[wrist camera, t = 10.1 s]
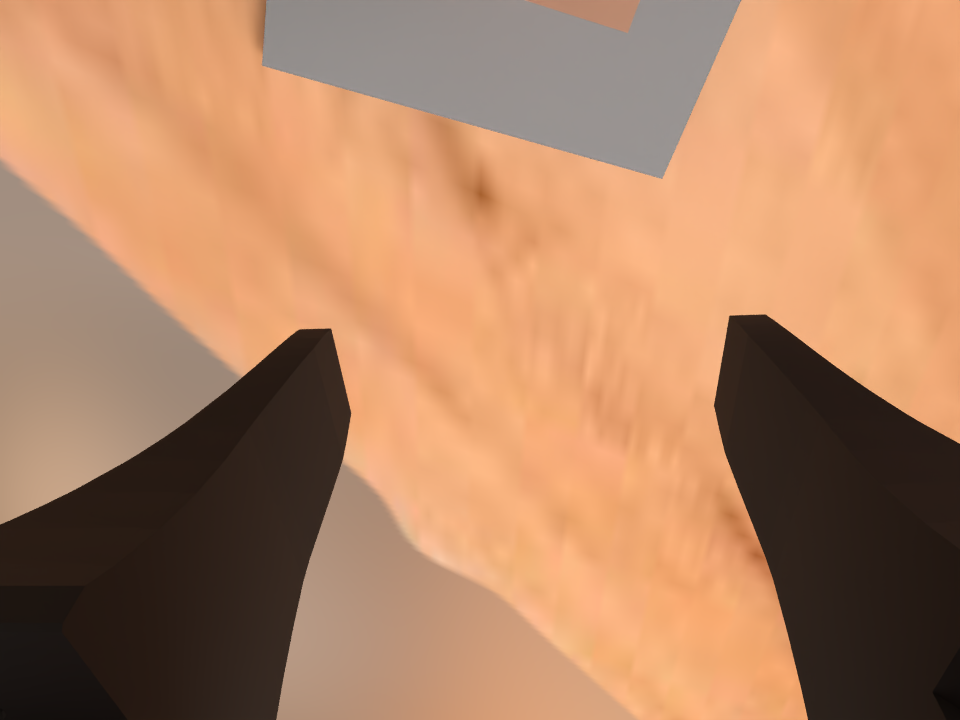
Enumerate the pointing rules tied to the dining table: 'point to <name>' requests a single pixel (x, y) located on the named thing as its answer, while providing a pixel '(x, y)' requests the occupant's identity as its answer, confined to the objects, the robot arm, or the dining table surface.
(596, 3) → the terracotta block
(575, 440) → the dining table surface
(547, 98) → the slate mat
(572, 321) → the dining table surface
